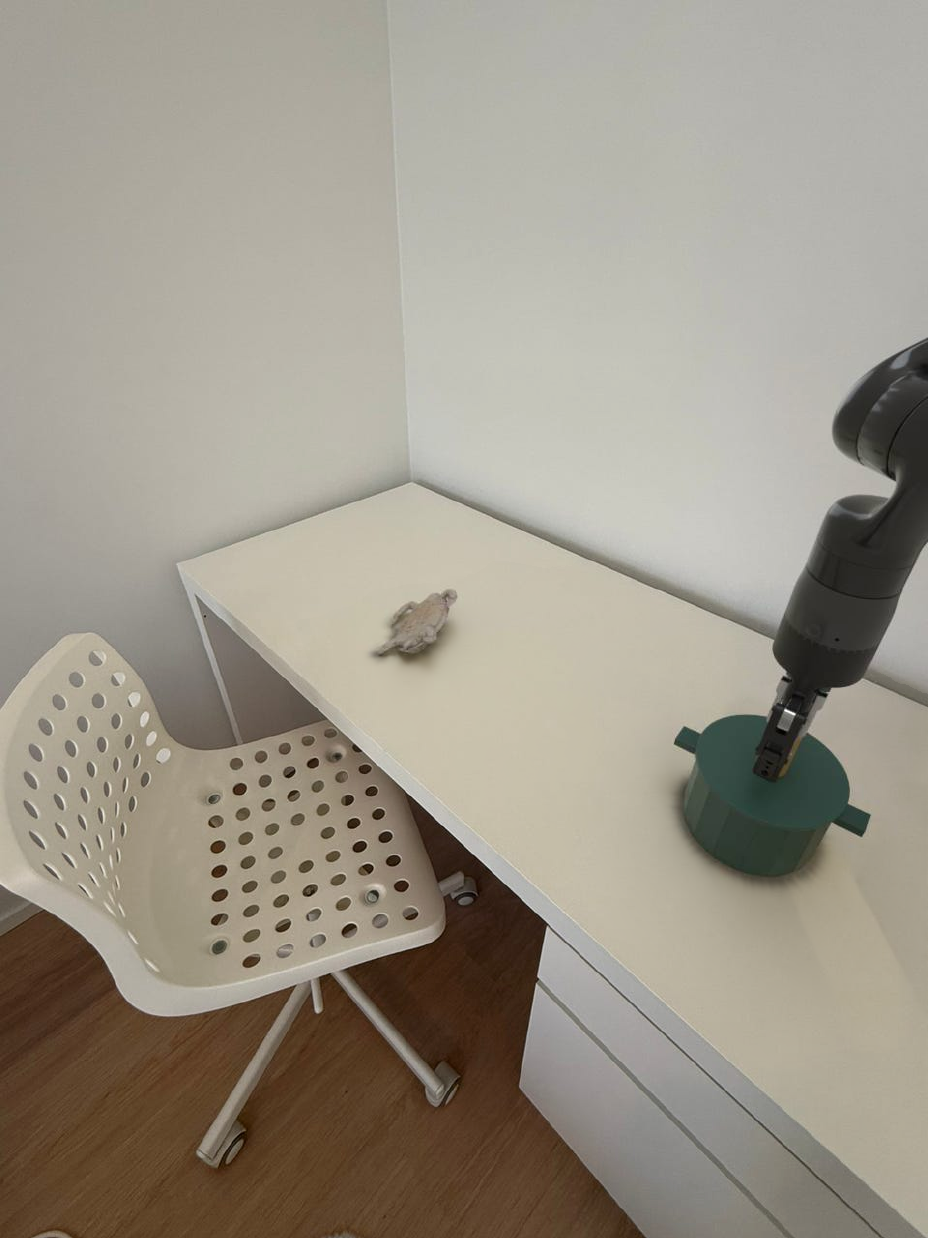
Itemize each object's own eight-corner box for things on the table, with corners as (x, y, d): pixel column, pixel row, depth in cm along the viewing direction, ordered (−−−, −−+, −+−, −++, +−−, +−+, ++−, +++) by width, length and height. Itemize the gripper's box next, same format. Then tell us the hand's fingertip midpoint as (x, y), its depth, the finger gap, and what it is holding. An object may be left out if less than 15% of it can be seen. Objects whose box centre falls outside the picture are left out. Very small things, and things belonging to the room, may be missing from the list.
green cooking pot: (689, 743, 80) (704, 693, 75) (855, 824, 71) (886, 773, 66) (640, 816, 72) (653, 765, 66) (822, 919, 62) (854, 870, 57)
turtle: (442, 684, 93) (466, 632, 88) (378, 672, 90) (399, 618, 85) (433, 617, 105) (454, 568, 100) (377, 605, 102) (395, 554, 97)
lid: (723, 703, 75) (739, 655, 70) (861, 764, 67) (888, 715, 63) (670, 783, 65) (685, 734, 61) (823, 864, 58) (852, 814, 54)
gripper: (863, 683, 48) (796, 816, 58) (900, 596, 57) (837, 724, 67) (761, 644, 52) (714, 775, 62) (811, 568, 61) (763, 693, 71)
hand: (778, 749), depth 64 cm, fingers open, 8 cm apart
